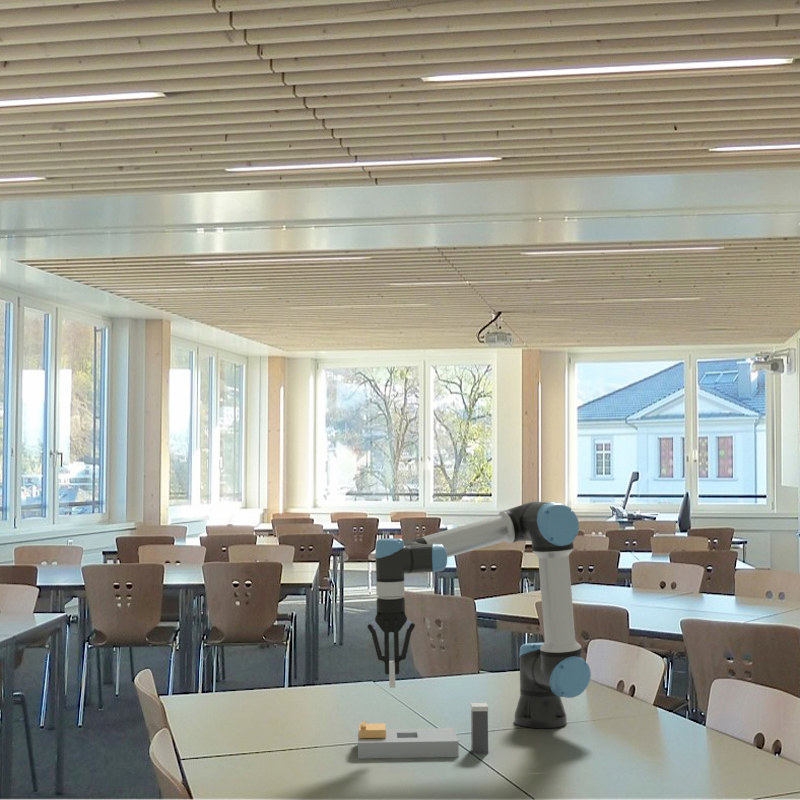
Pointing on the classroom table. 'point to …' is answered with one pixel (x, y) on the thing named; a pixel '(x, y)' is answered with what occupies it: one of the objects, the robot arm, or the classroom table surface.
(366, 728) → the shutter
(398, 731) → the socket board
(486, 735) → the plug
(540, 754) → the classroom table surface
